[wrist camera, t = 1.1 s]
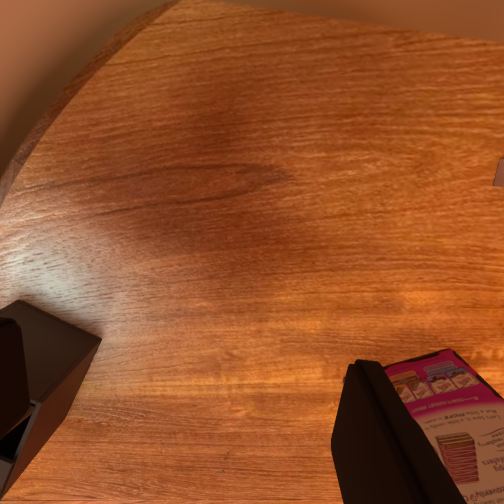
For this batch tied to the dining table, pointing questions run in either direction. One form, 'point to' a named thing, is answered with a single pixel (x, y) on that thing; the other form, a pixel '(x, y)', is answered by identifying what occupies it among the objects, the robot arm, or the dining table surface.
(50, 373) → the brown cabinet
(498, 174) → the cube with dark pebbles
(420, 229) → the dining table surface
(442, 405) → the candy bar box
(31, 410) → the flap
